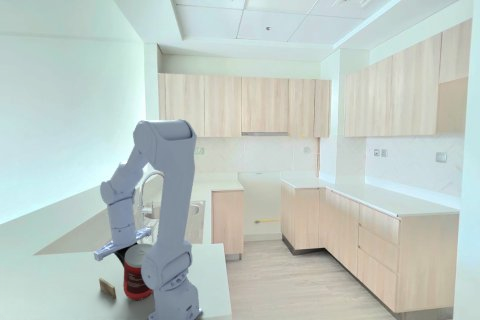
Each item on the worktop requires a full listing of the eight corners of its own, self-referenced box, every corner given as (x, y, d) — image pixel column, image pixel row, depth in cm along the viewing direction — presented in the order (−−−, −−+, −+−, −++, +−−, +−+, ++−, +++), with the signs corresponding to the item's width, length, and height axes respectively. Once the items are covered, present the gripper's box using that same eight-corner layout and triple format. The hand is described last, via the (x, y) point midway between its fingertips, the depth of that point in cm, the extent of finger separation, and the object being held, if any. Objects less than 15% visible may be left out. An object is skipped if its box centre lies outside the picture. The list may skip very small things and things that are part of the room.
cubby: (148, 275, 65) (147, 266, 65) (114, 298, 57) (112, 288, 56) (134, 268, 69) (133, 259, 68) (100, 288, 61) (98, 278, 60)
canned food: (146, 271, 64) (148, 239, 61) (161, 289, 59) (164, 255, 56) (117, 285, 58) (118, 251, 55) (132, 307, 54) (133, 270, 50)
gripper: (138, 211, 67) (144, 253, 69) (84, 232, 55) (93, 282, 57) (153, 215, 63) (158, 259, 65) (99, 239, 51) (107, 292, 53)
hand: (129, 270), depth 61 cm, fingers closed, pressing on canned food
